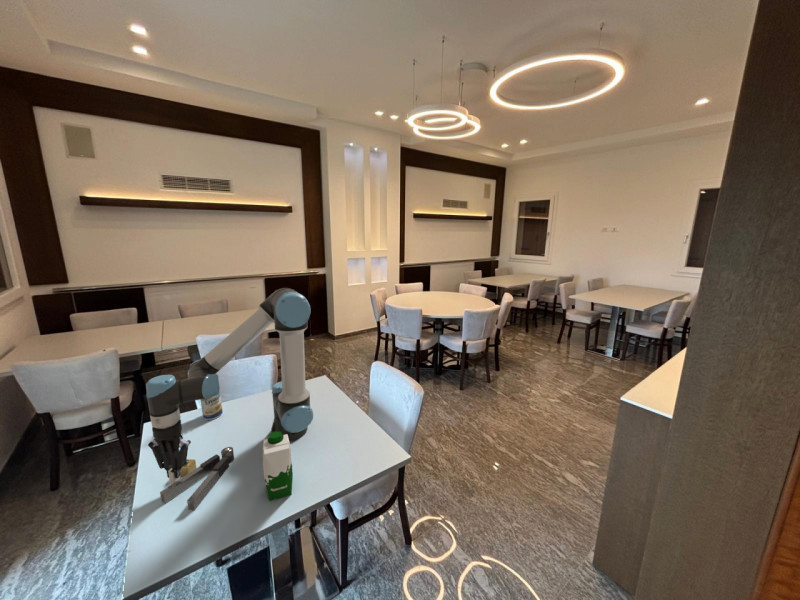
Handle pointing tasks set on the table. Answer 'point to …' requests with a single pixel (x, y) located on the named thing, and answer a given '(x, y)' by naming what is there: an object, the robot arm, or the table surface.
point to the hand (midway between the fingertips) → (175, 485)
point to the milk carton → (277, 465)
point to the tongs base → (211, 478)
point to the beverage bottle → (212, 407)
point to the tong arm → (189, 479)
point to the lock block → (188, 467)
